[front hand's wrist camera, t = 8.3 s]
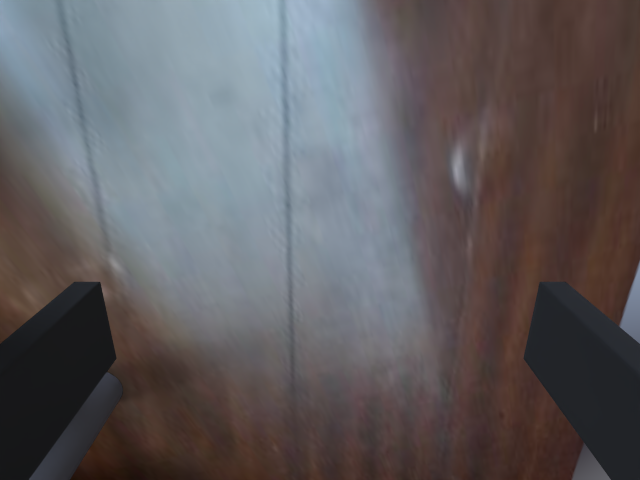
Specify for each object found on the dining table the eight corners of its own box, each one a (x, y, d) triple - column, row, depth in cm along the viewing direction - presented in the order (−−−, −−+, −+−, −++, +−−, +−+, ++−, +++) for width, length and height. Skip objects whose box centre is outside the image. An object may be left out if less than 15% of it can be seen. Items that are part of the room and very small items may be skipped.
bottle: (71, 387, 49) (-59, 550, 32) (95, 362, 47) (-28, 519, 31) (107, 411, 50) (0, 579, 33) (131, 387, 49) (32, 550, 32)
